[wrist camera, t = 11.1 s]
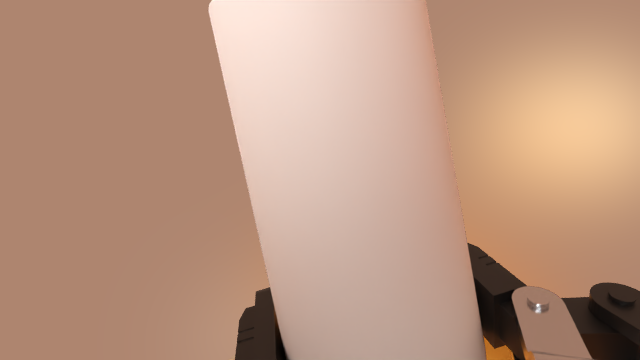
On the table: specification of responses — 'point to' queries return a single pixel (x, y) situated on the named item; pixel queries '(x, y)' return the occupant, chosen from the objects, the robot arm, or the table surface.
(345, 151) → the champagne flute
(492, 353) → the table surface
